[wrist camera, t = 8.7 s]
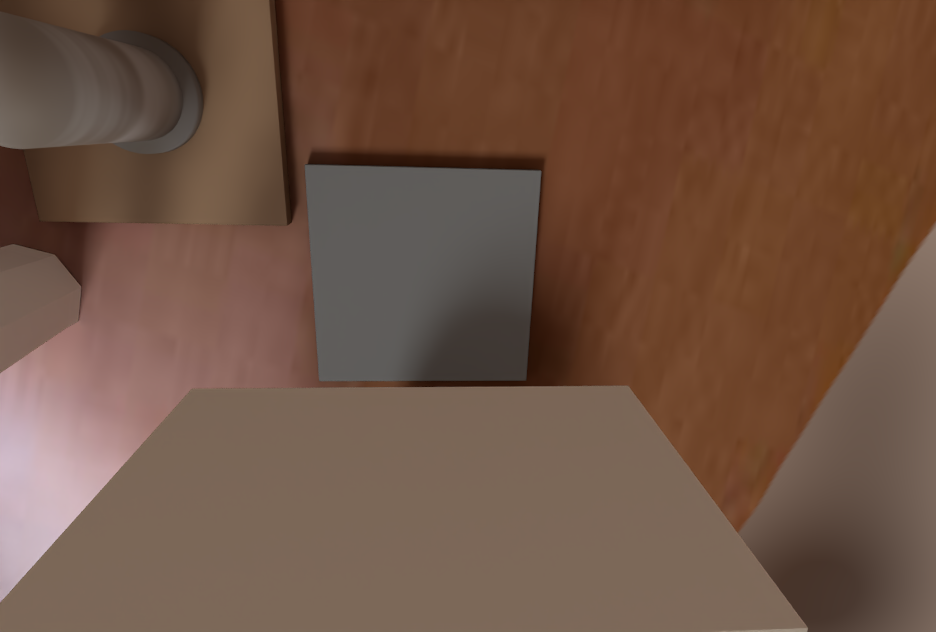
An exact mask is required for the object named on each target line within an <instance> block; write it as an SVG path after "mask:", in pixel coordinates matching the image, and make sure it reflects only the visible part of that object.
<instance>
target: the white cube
mask: <svg viewBox="0 0 936 632" xmlns="http://www.w3.org/2000/svg"><path fill="white" fill-rule="evenodd" d="M807 630H808V628H807V626H806V625H805V623H804V622H803V621H802V619H801V618H800V617H799V615H798V614H797V613H796V611H795V610H794V609H793V607H792V606H791V604H790V603H789V602H788V601H787V599H786V598H785V596H784V595H783V594H782V592H781V591H780V590H779V589H778V587H777V586H776V584H775V583H774V582H773V580H772V579H771V578H770V576H769V575H768V574H767V572H766V571H765V570H764V568H763V567H762V565H761V564H760V563H759V561H758V560H757V559H756V557H755V556H754V555H753V554H752V552H751V551H750V549H749V548H748V547H747V545H746V544H745V543H744V541H743V540H742V539H741V537H740V536H739V534H738V533H737V532H736V530H735V529H734V528H733V526H732V525H731V524H730V522H729V521H728V520H727V518H726V517H725V516H724V514H723V513H722V512H721V510H720V509H719V508H718V506H717V505H716V503H715V502H714V501H713V499H712V498H711V497H710V495H709V494H708V493H707V491H706V490H705V489H704V487H703V486H702V485H701V483H700V482H699V481H698V479H697V478H696V477H695V475H694V474H693V472H692V471H691V470H690V468H689V467H688V466H687V464H686V463H685V462H684V460H683V459H682V458H681V456H680V455H679V454H678V452H677V451H676V450H675V448H674V447H673V446H672V444H671V443H670V442H669V440H668V439H667V437H666V436H665V435H664V433H663V432H662V431H661V429H660V428H659V427H658V425H657V424H656V423H655V421H654V420H653V419H652V417H651V416H650V415H649V413H648V412H647V411H646V409H645V408H644V406H643V405H642V404H641V402H640V401H639V400H638V398H637V397H636V396H635V394H634V393H633V392H632V390H631V389H630V388H629V386H517V387H366V388H216V389H191V390H190V391H189V393H188V394H187V395H186V396H185V397H184V398H183V399H182V400H181V402H180V403H179V404H178V405H177V406H176V407H175V408H174V409H173V410H172V412H171V413H170V414H169V415H168V416H167V417H166V418H165V419H164V421H163V422H162V423H161V424H160V425H159V426H158V427H157V428H156V429H155V431H154V432H153V433H152V434H151V435H150V436H149V437H148V438H147V440H146V441H145V442H144V443H143V444H142V445H141V446H140V447H139V448H138V450H137V451H136V452H135V453H134V454H133V455H132V456H131V457H130V458H129V460H128V461H127V462H126V463H125V464H124V465H123V466H122V467H121V469H120V470H119V471H118V472H117V473H116V474H115V475H114V476H113V477H112V479H111V480H110V481H109V482H108V483H107V484H106V485H105V486H104V488H103V489H102V490H101V491H100V492H99V493H98V494H97V495H96V496H95V498H94V499H93V500H92V501H91V502H90V503H89V504H88V505H87V506H86V508H85V509H84V510H83V511H82V512H81V513H80V514H79V515H78V517H77V518H76V519H75V520H74V521H73V522H72V523H71V524H70V525H69V527H68V528H67V529H66V530H65V531H64V532H63V533H62V534H61V536H60V537H59V538H58V539H57V540H56V541H55V542H54V543H53V544H52V546H51V547H50V548H49V549H48V550H47V551H46V552H45V553H44V555H43V556H42V557H41V558H40V559H39V560H38V561H37V562H36V563H35V565H34V566H33V567H32V568H31V569H30V570H29V571H28V572H27V573H26V575H25V576H24V577H23V578H22V579H21V580H20V581H19V582H18V584H17V585H16V586H15V587H14V588H13V589H12V590H11V591H10V592H9V594H8V595H7V596H6V597H5V598H4V599H3V600H2V601H1V603H0V632H807Z"/></svg>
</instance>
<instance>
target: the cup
mask: <svg viewBox="0 0 936 632" xmlns="http://www.w3.org/2000/svg"><path fill="white" fill-rule="evenodd" d="M80 298H81V286H80V285H79V283H78V282H77V281H76V280H75V279H74V277H73V276H72V275H71V274H70V273H69V271H68V270H67V269H66V268H65V266H64V265H63V264H62V263H61V262H60V260H59V259H58V258H57V257H56V256H55V255H54V254H50V253H46V252H42V251H38V250H35V249H31V248H27V247H23V246H19V245H15V244H11V245H8V246H4V247H1V248H0V373H1V372H2V371H4V370H5V369H7V368H8V367H10V366H11V365H13V364H14V363H16V362H17V361H19V360H20V359H22V358H23V357H25V356H26V355H28V354H29V353H30V352H32V351H33V350H35V349H36V348H38V347H39V346H41V345H42V344H44V343H45V342H47V341H48V340H50V339H51V338H53V337H54V336H56V335H57V334H58V333H60V332H61V331H63V330H64V329H66V328H67V327H69V326H71V325H73V324H74V323H76V322H78V320H79V309H80Z"/></svg>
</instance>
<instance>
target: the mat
mask: <svg viewBox="0 0 936 632" xmlns="http://www.w3.org/2000/svg"><path fill="white" fill-rule="evenodd" d="M305 177H306V192H307V207H308V222H309V236H310V251H311V266H312V281H313V296H314V311H315V325H316V340H317V355H318V370H319V381H526V376H527V362H528V348H529V334H530V320H531V306H532V293H533V279H534V265H535V251H536V237H537V224H538V210H539V196H540V182H541V171H540V170H523V169H484V168H445V167H406V166H367V165H328V164H306V165H305Z"/></svg>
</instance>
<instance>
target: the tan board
mask: <svg viewBox="0 0 936 632" xmlns="http://www.w3.org/2000/svg"><path fill="white" fill-rule="evenodd" d="M0 146H3V147H8V148H14V149H23V152H24V156H25V160H26V165H27V169H28V173H29V178H30V182H31V186H32V191H33V195H34V199H35V204H36V208H37V212H38V217H39V221H51V222H108V223H165V224H222V225H279V226H287V225H289V224H290V223H291V222H292V219H291V206H290V193H289V180H288V167H287V154H286V141H285V128H284V116H283V103H282V90H281V77H280V64H279V51H278V38H277V25H276V12H275V0H0Z"/></svg>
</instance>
